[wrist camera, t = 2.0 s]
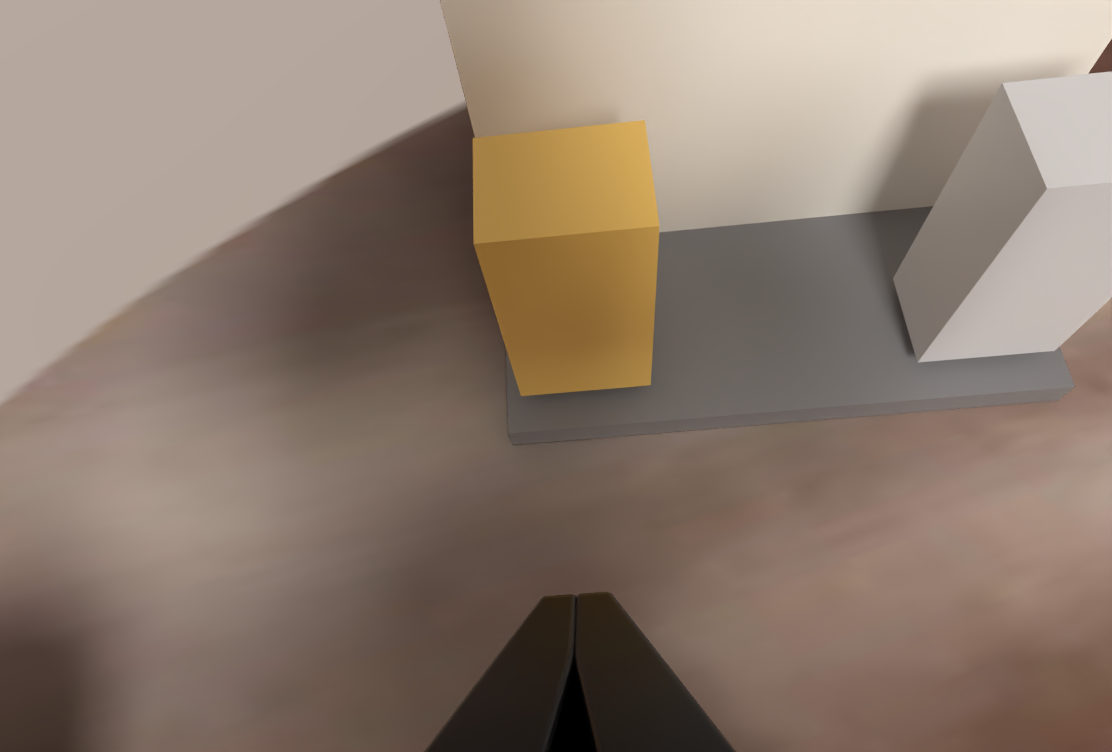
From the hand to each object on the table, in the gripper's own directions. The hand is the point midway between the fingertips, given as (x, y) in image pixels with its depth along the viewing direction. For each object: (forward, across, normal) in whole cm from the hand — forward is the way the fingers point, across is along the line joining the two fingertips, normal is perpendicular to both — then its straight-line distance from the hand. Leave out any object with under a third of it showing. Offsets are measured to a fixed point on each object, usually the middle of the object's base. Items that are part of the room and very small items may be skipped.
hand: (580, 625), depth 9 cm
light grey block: (+16, -12, +1) cm, 20 cm away
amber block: (+16, 0, +1) cm, 16 cm away
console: (+19, -6, 0) cm, 20 cm away
